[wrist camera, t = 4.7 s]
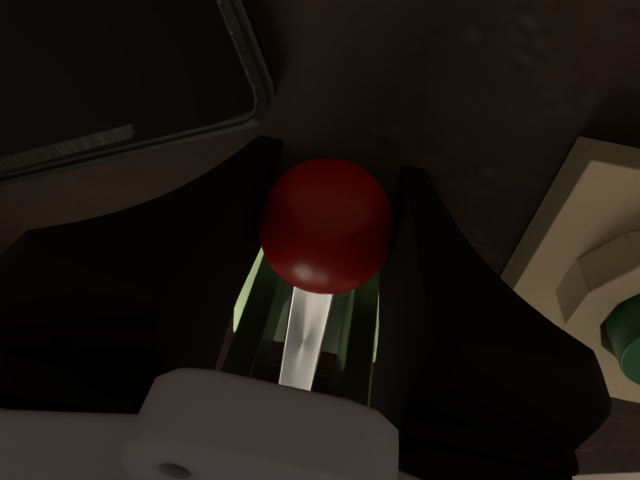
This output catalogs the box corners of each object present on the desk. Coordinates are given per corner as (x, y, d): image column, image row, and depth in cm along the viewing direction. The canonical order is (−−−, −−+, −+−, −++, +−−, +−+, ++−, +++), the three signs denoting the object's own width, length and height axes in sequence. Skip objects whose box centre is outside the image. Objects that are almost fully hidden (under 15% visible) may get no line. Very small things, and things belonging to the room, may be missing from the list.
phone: (-181, 15, 17) (173, -143, 13) (-153, 7, 18) (188, -145, 14) (-24, 194, 22) (278, 125, 17) (-8, 180, 23) (284, 111, 18)
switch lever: (280, 121, 12) (244, 196, 9) (411, 148, 12) (410, 230, 9) (254, 392, 19) (231, 471, 17) (332, 409, 19) (320, 491, 17)
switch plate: (655, 379, 25) (684, 445, 22) (464, 339, 25) (469, 399, 22) (861, 192, 17) (942, 258, 14) (578, 135, 17) (607, 190, 14)
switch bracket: (245, 162, 20) (144, 355, 13) (434, 201, 20) (444, 421, 12) (238, 315, 27) (169, 501, 19) (380, 345, 26) (366, 545, 19)
